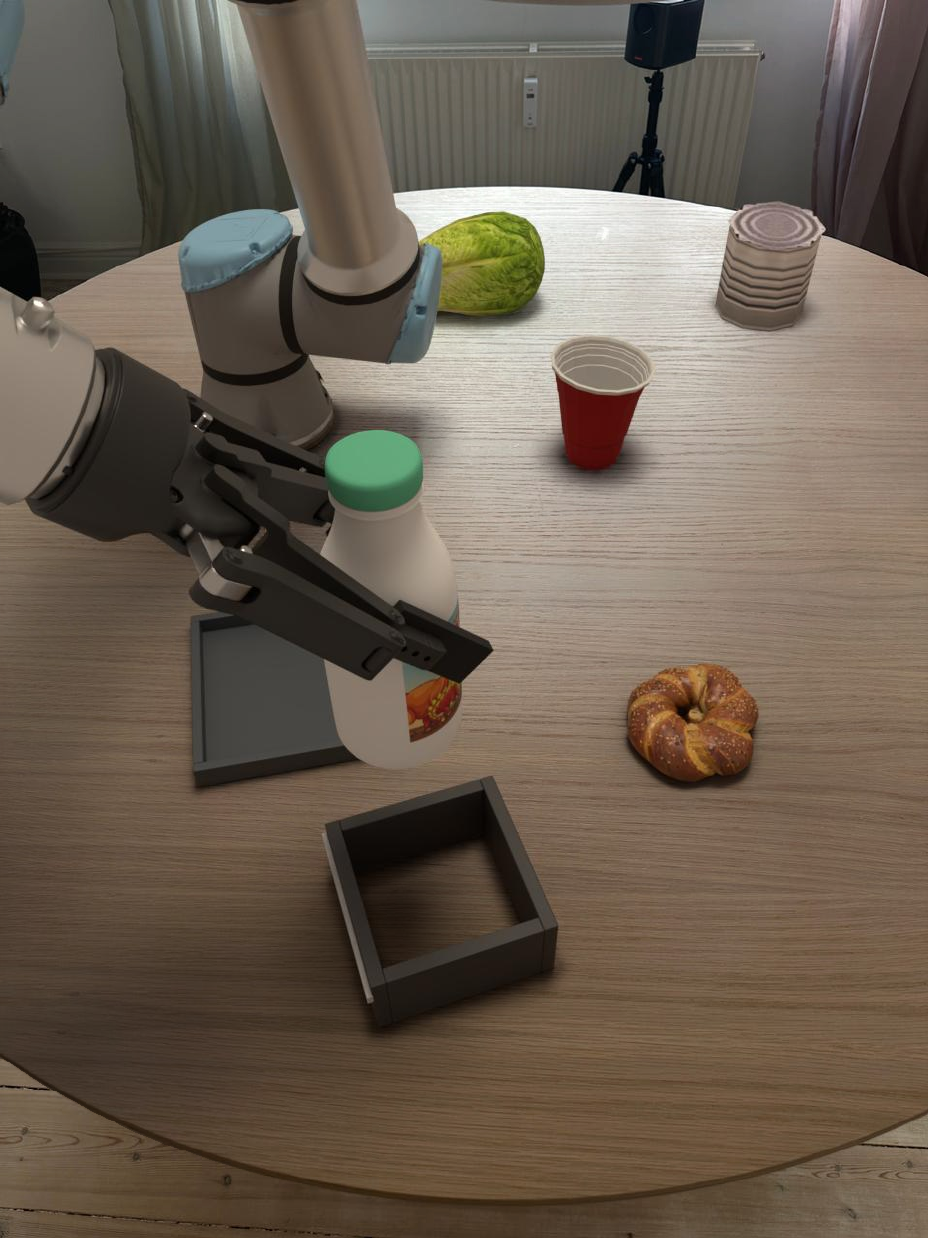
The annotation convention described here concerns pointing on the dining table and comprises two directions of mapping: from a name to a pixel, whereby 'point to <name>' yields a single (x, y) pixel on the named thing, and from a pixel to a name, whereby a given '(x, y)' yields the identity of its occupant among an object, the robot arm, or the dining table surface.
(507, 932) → the collar base
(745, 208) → the can
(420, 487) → the milk bottle
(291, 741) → the tray
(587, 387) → the plastic cup
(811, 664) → the dining table surface
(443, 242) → the lettuce
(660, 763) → the pretzel
